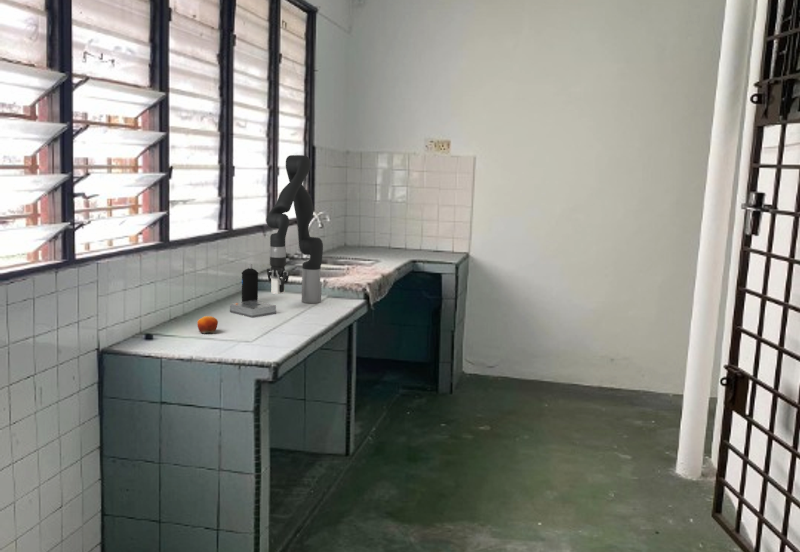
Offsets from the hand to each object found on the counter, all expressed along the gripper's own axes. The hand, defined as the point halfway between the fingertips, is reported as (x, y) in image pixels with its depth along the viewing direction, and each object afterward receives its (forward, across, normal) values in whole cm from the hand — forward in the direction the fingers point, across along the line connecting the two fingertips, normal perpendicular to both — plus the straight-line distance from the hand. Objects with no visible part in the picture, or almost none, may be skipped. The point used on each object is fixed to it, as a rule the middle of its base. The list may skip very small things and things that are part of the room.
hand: (277, 291), depth 342 cm
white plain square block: (+1, 0, 0) cm, 1 cm away
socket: (+9, +3, +13) cm, 16 cm away
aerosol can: (+10, +20, +1) cm, 22 cm away
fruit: (+8, -16, +52) cm, 55 cm away
